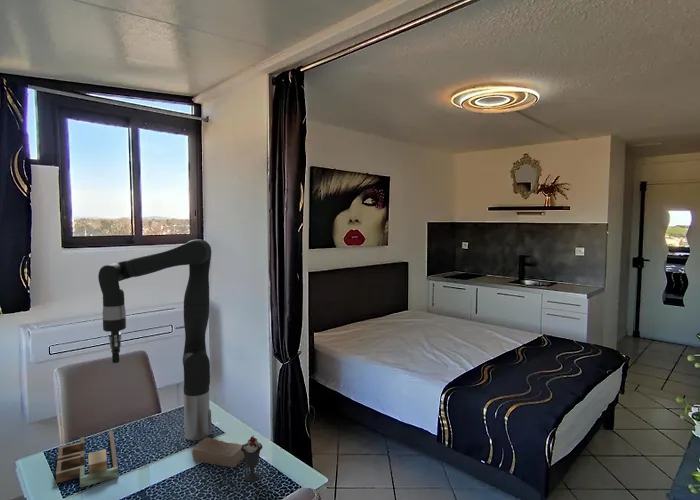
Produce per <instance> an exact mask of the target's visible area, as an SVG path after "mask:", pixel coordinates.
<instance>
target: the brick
mask: <svg viewBox="0 0 700 500" xmlns="http://www.w3.org/2000/svg"><path fill="white" fill-rule="evenodd" d="M243 445H244V444H240V443H236V442H235V443H233V442H225V441H223V440H218V439H215V438H212V437H206V438H203V439H201V440H200V442H198V443H197V444H196V446H195V447H194V448H192V451H191V452H192V460H193V461H196V462H199V463H201V462H202V463H206V464H209V465H217V466H222V467H228V468H235V467H237V466H238V465H239V464H240V462H241V461H243V460H245V457H244V452H243V451H241V448H242V446H243ZM237 464H238V465H237ZM236 465H237V466H236Z"/></svg>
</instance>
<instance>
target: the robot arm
mask: <svg viewBox="0 0 700 500" xmlns="http://www.w3.org/2000/svg"><path fill="white" fill-rule="evenodd" d="M211 258H212V247H211V245H210V244H209V242H208V241H206V240H204V239H199V238H198V239H192V240H188V241H187V242H186V243H183V244H181V245H178V246H177V247H175V248H171V249H168V250H165V251H160V252H156V253H155V252H154V253H150V254H146V255H145V254H144V255H141V256H137V257H133V258H130V259H128V260H123V261H118V262H114V263H110V264H106V265H103V266H102V267H100V268H99V271H98V274H97V276H98V277H97V278H98V284H99V286H100V291H101V293H102V330H103V331H104V332H108V333H109V332H110V333H109V334H108V341H109V347H110V349H111V351H110V352H111V357H112V358H111V359H112V364H118V363H120V352H121V346H122V343H121V341H122V334H121V332H120V331H124V330H125V329H126V328H127V318H126V317H127V315H126V314H127V313H126V306H125V305H126V304H125V292H124V290H123V289H122V288H121V287H120V283H119V282H121V281H124V280H128V279H130V278H137V277H138V278H139V277H141V276H142V277H143V276H145V275H149V274H153V273H156V272H159V271H160V272H161V271H162V270H165V269H168V268H173V267H178V266H188V267H189V268H188V269H189V270H188V271H189V272H188V273H189V274H188V280H187V285H186V288H185V291H184V296H183V325H184V332H185V333H184V334H185V337H184V338H185V339H184V340H185V341H184V348H183V354H182V366H183V416H184V417H183V419H184V421H183V423H184V427H183V428H184V438H185V439H186V440H187V441H201V440H203V439H205V438H208V437H209V436H212V410H211V408H210V404H211V403H210V385H211V383H210V382H211V364H210V358H209V356H208V354H207V353H208V352H207V346H206V332H207V327H208V323H209V317H210V280H209V279H210V265H211V260H212V259H211Z"/></svg>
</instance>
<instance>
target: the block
mask: <svg viewBox="0 0 700 500" xmlns="http://www.w3.org/2000/svg"><path fill="white" fill-rule="evenodd" d="M107 456H108V455H107V449H106V448H105V449H101V450H97V451H92V452H88V457H87V458H88V474H91V473H95V472H98V471H102V470H106V469H108V459H107Z"/></svg>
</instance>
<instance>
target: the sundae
mask: <svg viewBox="0 0 700 500" xmlns="http://www.w3.org/2000/svg"><path fill="white" fill-rule="evenodd" d="M242 445H243V446H242V448H241V451H243V452H244V457H245V458H244V463H245V465H246V466H247V468H249V472H248V473H246V475H244V480H246V481H245V482H247V481H250V482H249V483H253V481H254V482H256V480H257V481H258V480H259V479H260V478H259V477H261V475H260V474H259V473H258V472H255V467H256V466H257V465H258V464H259V459H260V453H261V450H262V449H263V445H262V443H261V442H259V441H258V439H257V438H256V437H254V435H252V436H250V439H248V440H247V443H244V444H242ZM254 472H255V473H254Z"/></svg>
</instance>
